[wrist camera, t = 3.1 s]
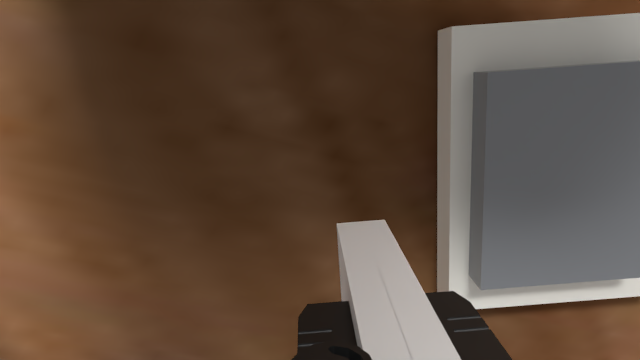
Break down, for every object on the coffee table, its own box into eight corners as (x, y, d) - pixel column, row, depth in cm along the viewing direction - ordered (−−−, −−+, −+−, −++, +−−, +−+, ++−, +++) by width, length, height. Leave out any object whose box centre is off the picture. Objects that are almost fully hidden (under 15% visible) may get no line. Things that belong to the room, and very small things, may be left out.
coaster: (473, 72, 18) (487, 72, 17) (650, 59, 19) (679, 58, 17) (468, 275, 21) (480, 290, 20) (624, 262, 21) (647, 276, 20)
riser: (437, 30, 20) (451, 26, 18) (684, 13, 20) (724, 6, 18) (436, 291, 23) (448, 311, 22) (646, 275, 24) (676, 293, 22)
